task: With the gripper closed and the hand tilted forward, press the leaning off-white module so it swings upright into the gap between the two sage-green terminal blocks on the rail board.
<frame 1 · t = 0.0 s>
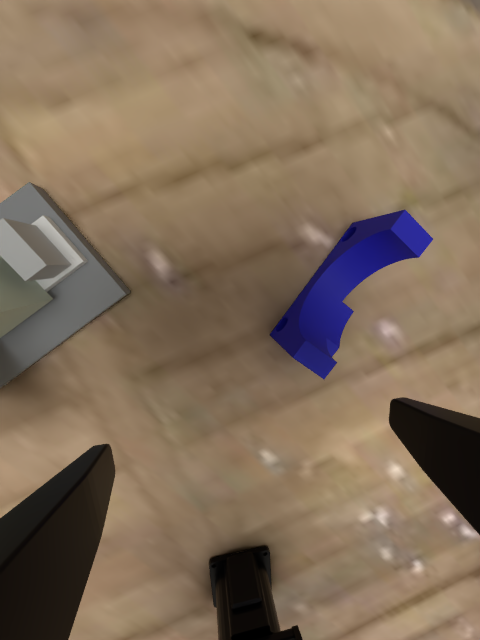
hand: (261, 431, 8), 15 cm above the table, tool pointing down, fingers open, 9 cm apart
blue cradle stand: (326, 294, 24), on the table
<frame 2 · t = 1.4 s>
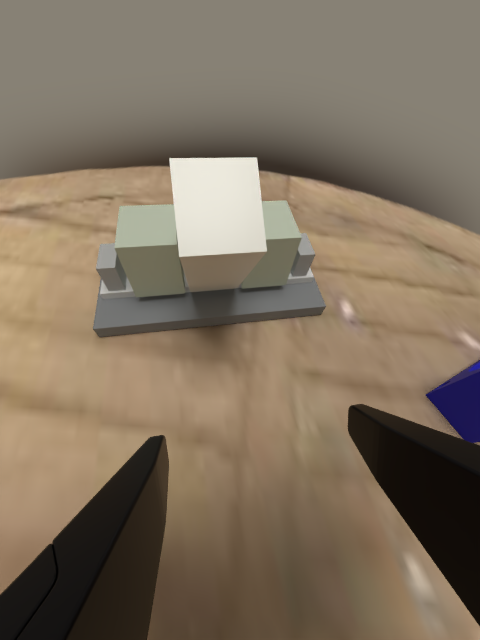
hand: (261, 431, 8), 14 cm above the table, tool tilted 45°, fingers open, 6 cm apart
module: (213, 242, 19), point 9 cm above the table, hinge at 30.0°
rail board: (214, 304, 27), on the table
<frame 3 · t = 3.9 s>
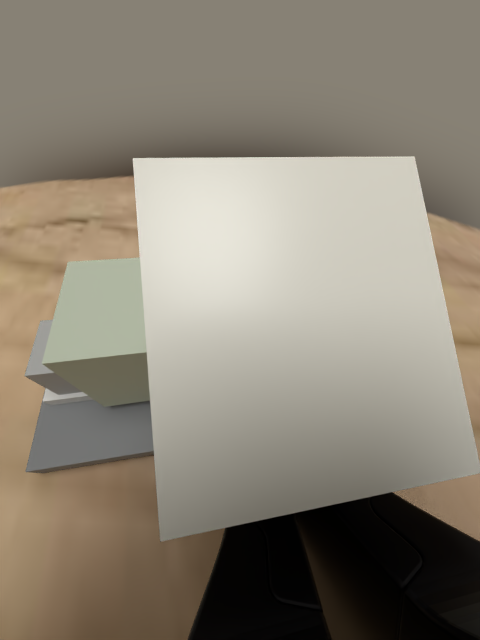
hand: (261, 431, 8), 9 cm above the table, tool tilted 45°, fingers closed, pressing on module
module: (244, 336, 10), point 9 cm above the table, hinge at 24.9°, touching gripper
rail board: (232, 399, 17), on the table
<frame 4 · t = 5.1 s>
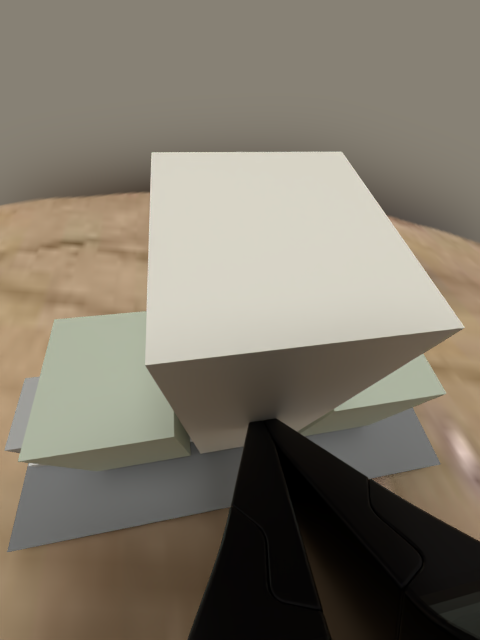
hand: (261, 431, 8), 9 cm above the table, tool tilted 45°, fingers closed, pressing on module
module: (245, 352, 10), point 8 cm above the table, hinge at 0.9°, touching gripper
rail board: (240, 451, 16), on the table
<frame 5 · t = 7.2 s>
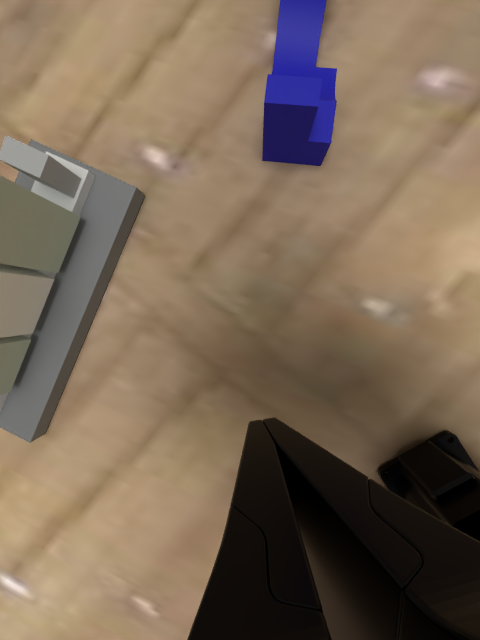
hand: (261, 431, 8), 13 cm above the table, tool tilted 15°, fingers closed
blue cradle stand: (300, 86, 20), on the table
rail board: (66, 306, 22), on the table
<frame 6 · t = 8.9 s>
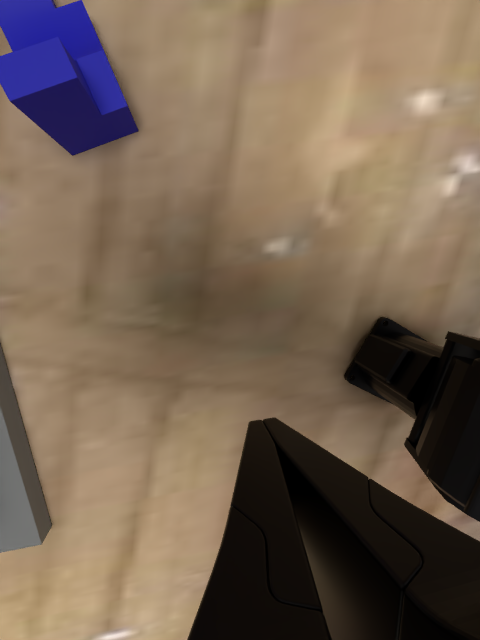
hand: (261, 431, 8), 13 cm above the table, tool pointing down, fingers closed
blue cradle stand: (57, 39, 16), on the table
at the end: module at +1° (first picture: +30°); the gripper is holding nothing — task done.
